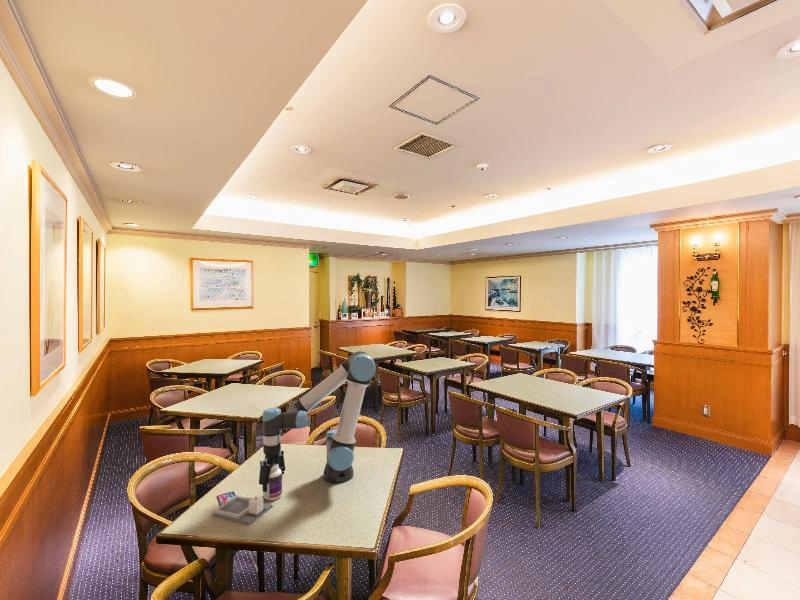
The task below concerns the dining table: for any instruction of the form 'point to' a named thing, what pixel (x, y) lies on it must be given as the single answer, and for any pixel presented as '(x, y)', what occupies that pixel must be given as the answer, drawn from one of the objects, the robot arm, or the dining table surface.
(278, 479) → the pill bottle
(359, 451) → the dining table surface
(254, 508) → the dock plate
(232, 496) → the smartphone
